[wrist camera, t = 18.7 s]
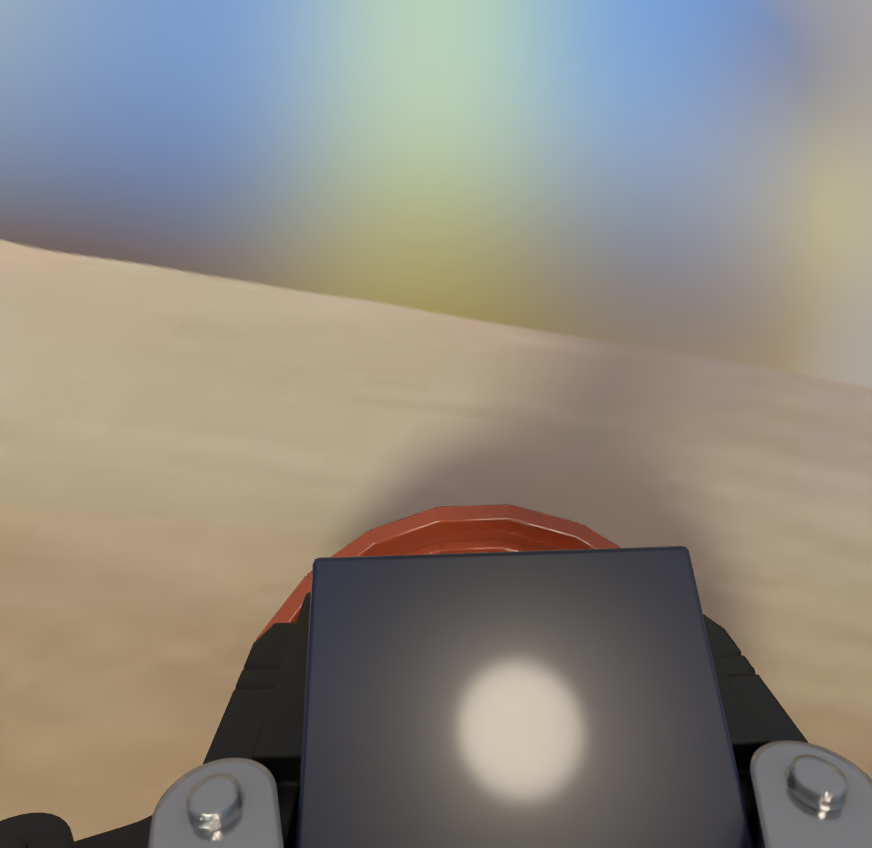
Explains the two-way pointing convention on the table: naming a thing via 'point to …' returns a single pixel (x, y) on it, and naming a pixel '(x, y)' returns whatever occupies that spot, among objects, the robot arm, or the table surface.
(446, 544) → the bowl
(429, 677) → the eraser
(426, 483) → the table surface
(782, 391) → the table surface
